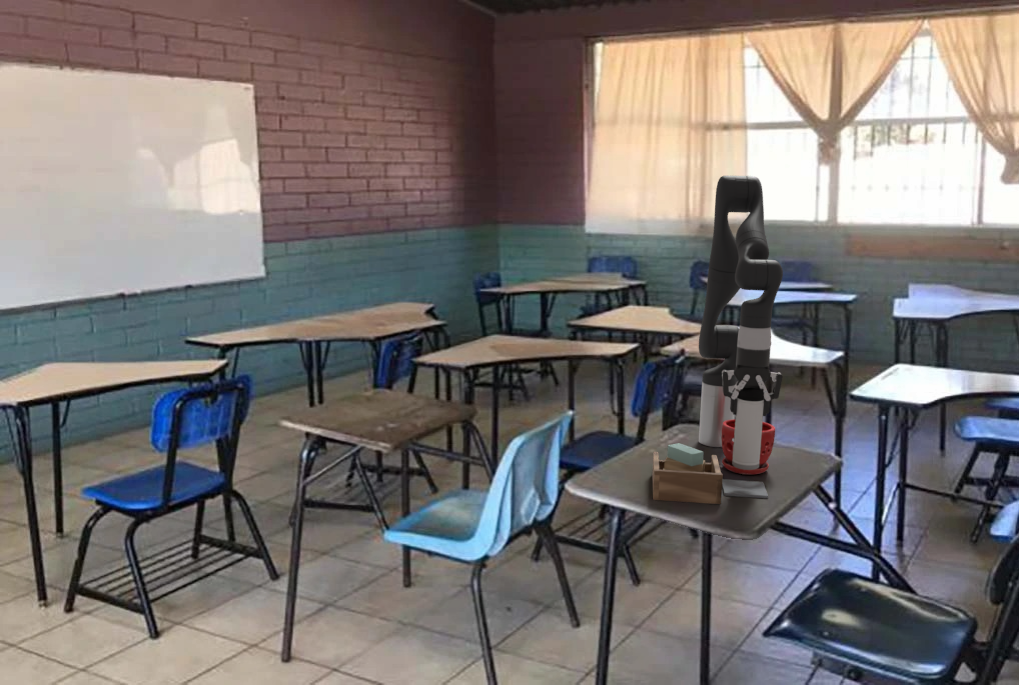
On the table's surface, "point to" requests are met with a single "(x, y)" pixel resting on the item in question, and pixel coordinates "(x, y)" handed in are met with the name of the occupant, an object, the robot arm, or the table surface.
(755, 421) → the travel mug
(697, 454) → the offcut top
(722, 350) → the robot arm
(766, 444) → the plant pot
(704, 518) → the table surface
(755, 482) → the mat
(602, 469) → the table surface
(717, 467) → the wooden box
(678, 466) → the offcut mid
